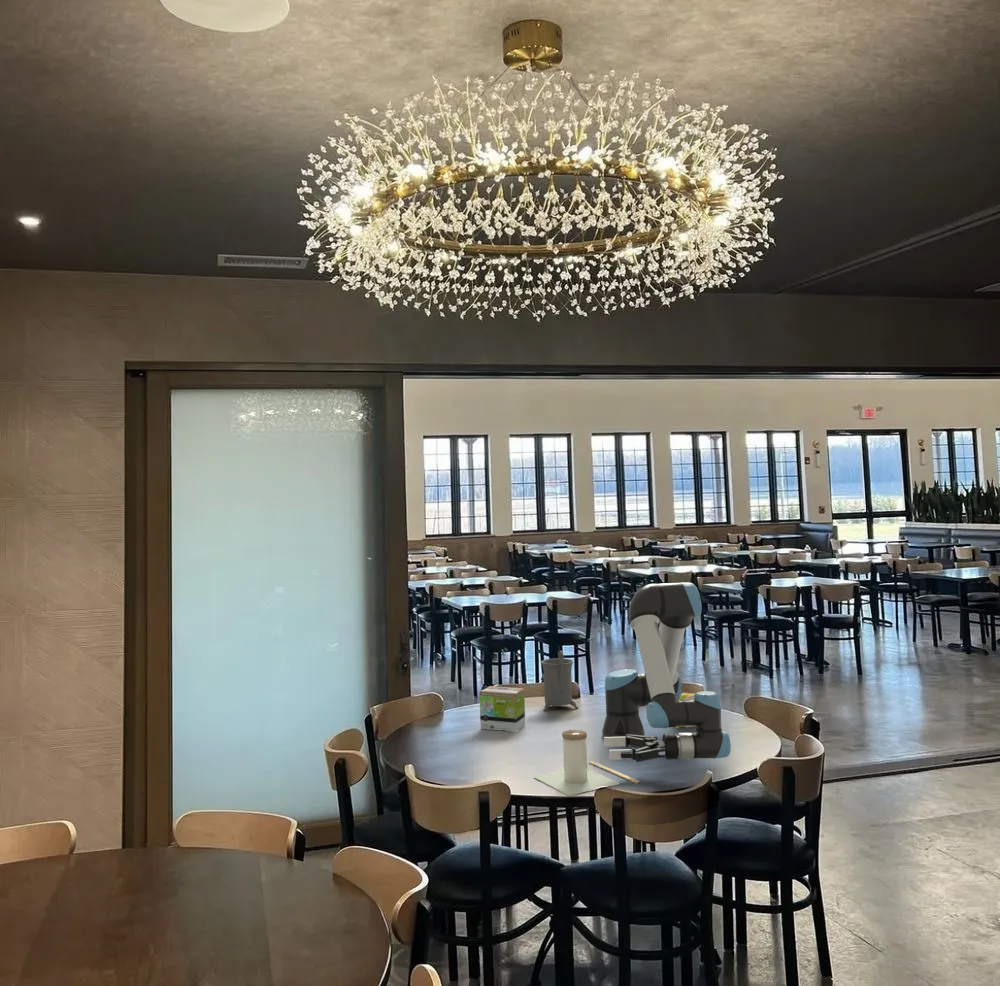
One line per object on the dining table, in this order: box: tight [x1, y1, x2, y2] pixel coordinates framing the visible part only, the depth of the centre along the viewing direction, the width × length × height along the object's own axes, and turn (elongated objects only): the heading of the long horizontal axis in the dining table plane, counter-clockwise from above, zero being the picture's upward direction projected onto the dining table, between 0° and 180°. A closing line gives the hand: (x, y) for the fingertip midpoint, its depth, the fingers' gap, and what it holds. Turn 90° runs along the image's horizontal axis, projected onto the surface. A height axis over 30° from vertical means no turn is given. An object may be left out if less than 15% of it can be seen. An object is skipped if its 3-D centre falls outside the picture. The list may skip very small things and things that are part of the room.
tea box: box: [479, 685, 526, 732], centre depth 306 cm, size 15×10×15 cm, turn 68°
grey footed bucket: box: [540, 650, 579, 712], centre depth 334 cm, size 19×15×25 cm
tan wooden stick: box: [588, 760, 641, 784], centre depth 248 cm, size 24×2×1 cm, turn 29°
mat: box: [533, 768, 621, 797], centre depth 241 cm, size 20×18×1 cm
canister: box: [561, 729, 588, 784], centre depth 241 cm, size 7×7×14 cm
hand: (606, 748), depth 241 cm, fingers open, 13 cm apart
